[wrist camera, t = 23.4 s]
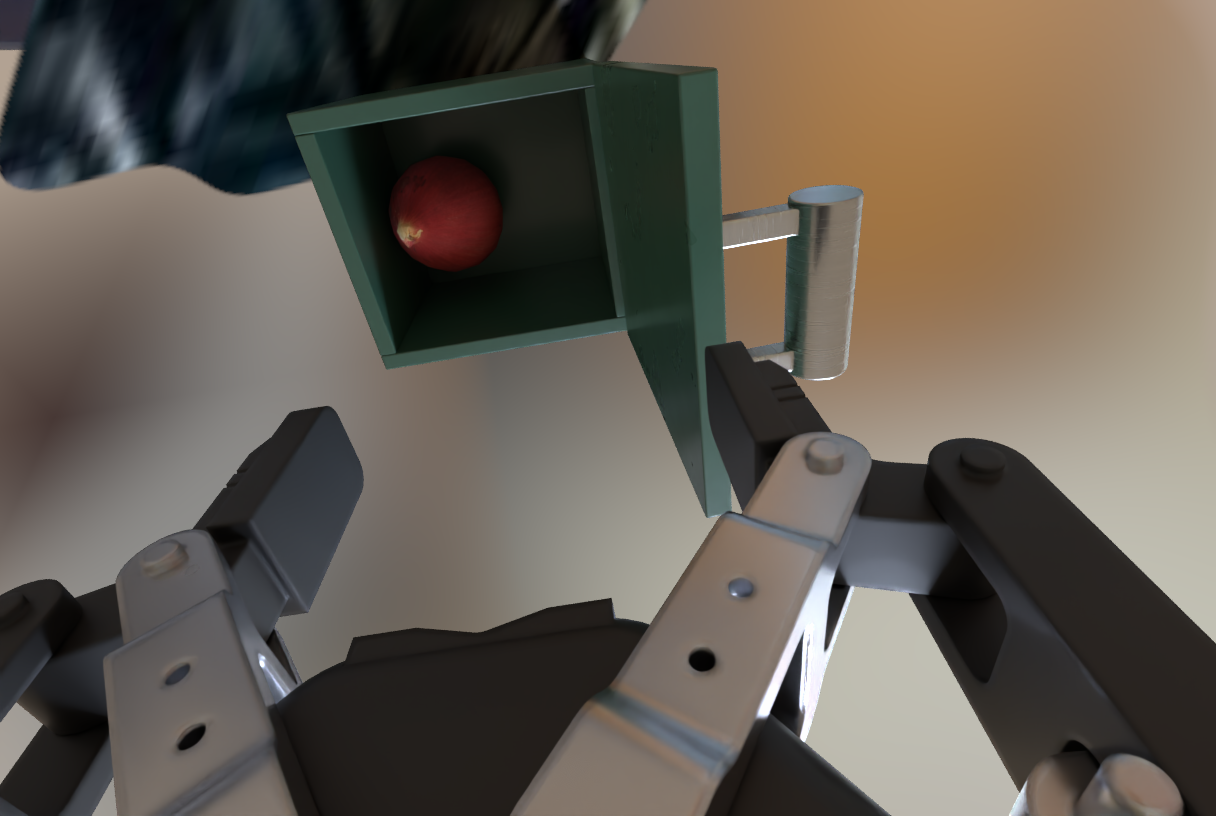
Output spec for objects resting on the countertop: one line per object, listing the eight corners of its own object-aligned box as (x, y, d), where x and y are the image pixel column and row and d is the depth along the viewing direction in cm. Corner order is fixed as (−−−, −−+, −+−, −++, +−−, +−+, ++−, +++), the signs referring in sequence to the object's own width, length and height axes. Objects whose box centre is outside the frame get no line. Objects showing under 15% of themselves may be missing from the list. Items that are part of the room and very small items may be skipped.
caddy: (425, 292, 38) (385, 370, 29) (361, 95, 32) (285, 114, 23) (614, 261, 38) (634, 329, 29) (586, 58, 32) (601, 62, 23)
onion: (430, 222, 36) (338, 253, 29) (453, 130, 33) (356, 143, 26) (510, 269, 36) (435, 312, 29) (541, 181, 32) (464, 207, 26)
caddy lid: (706, 519, 17) (867, 485, 17) (677, 73, 11) (927, 31, 11) (627, 335, 29) (726, 316, 29) (591, 63, 22) (717, 43, 23)
